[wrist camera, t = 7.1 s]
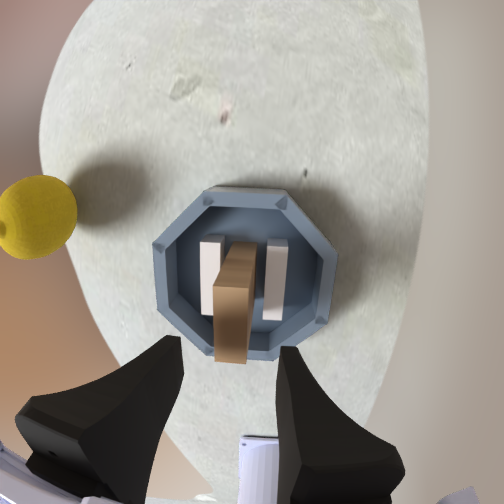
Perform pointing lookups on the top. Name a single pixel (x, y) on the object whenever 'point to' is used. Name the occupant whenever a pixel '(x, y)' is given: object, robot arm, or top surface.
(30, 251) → the lemon
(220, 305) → the brown wooden plank
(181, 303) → the octagonal blue tray
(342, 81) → the top surface
